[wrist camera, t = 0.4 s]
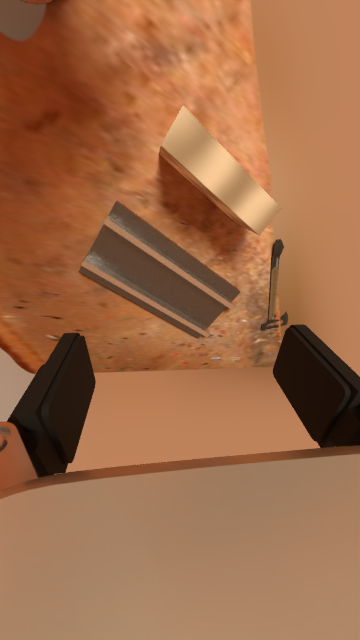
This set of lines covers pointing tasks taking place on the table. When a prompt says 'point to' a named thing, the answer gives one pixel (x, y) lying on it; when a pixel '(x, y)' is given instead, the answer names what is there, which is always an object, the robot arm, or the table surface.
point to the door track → (156, 273)
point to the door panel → (217, 173)
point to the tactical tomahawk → (274, 288)
